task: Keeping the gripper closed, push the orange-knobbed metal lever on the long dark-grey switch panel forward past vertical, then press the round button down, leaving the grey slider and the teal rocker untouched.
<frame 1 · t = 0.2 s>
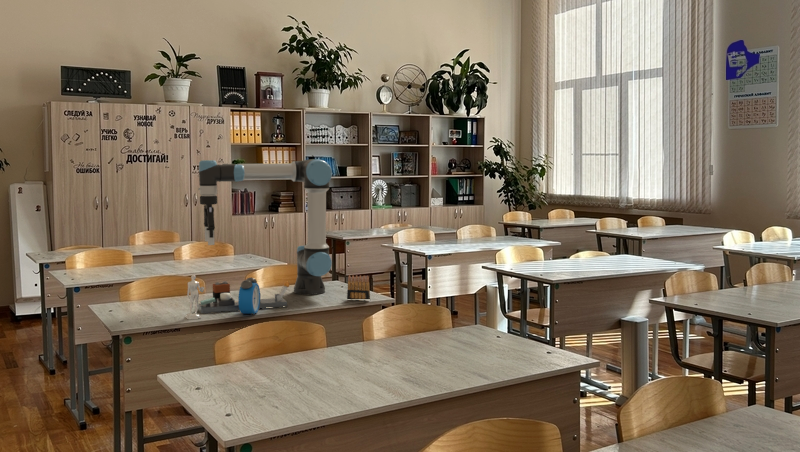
hand: (209, 243, 327), 28 cm above the table, fingers open, 13 cm apart
figurine: (195, 318, 305), on the table
panel: (243, 308, 323), on the table
slider: (258, 296, 327), point 5 cm above the table, slide at -2.0 cm
alarm clock: (249, 314, 312), on the table
lever: (283, 290, 329), point 7 cm above the table, hinge at -30.0°
battery: (221, 304, 332), on the table
button: (225, 297, 320), point 5 cm above the table, slide at 0.0 cm
rocker: (207, 301, 317), point 4 cm above the table, hinge at 12.0°
ammunition clip: (358, 301, 340), on the table
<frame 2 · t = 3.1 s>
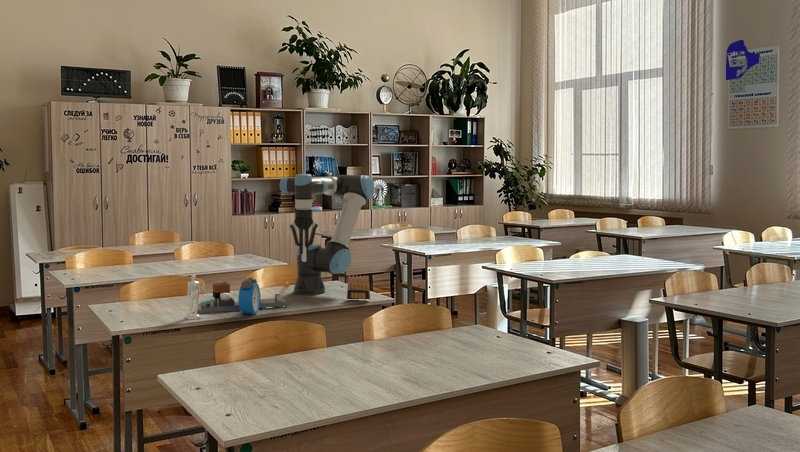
hand: (303, 261, 331), 19 cm above the table, fingers closed
nothing on the table moved.
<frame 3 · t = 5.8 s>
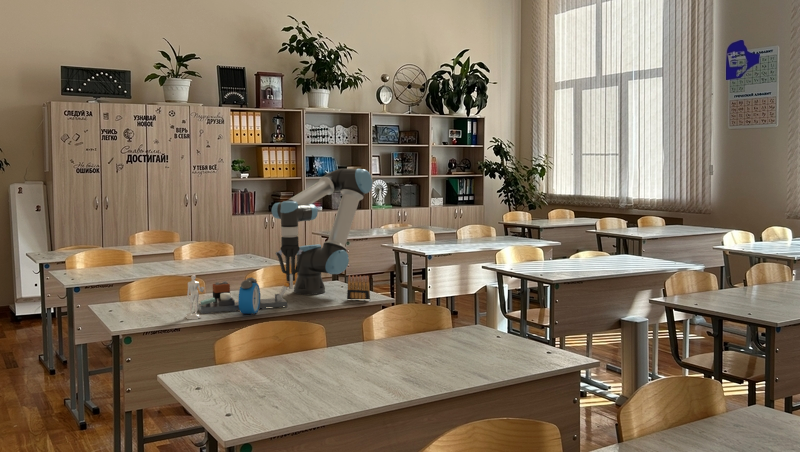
hand: (290, 288, 330), 7 cm above the table, fingers closed
lever: (283, 290, 329), point 7 cm above the table, hinge at -30.0°, touching gripper
everything else where it was.
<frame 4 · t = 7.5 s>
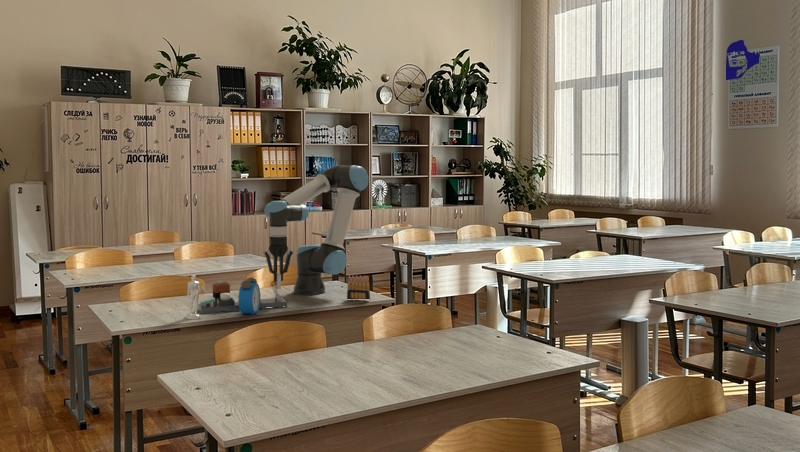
hand: (278, 288, 327), 8 cm above the table, fingers closed
lever: (275, 289, 327), point 7 cm above the table, hinge at 15.7°, touching gripper
everything else where it was.
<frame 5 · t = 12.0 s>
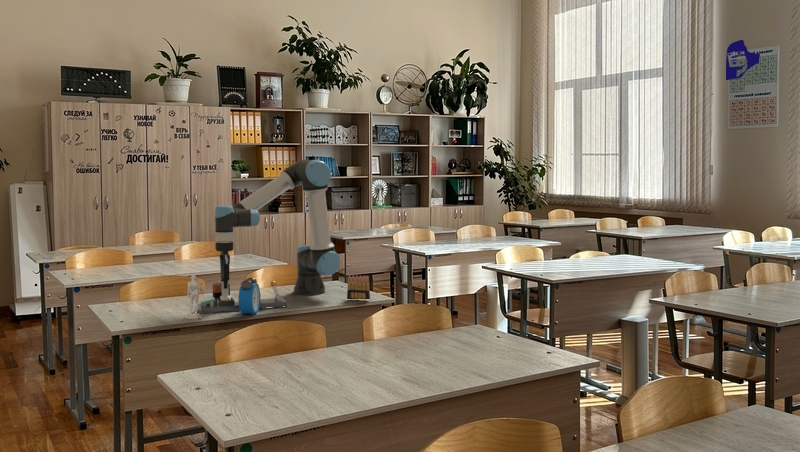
hand: (225, 295, 319), 6 cm above the table, fingers closed
lever: (275, 289, 327), point 7 cm above the table, hinge at 15.6°
button: (225, 299, 320), point 4 cm above the table, slide at -1.1 cm, touching gripper
everything else where it was.
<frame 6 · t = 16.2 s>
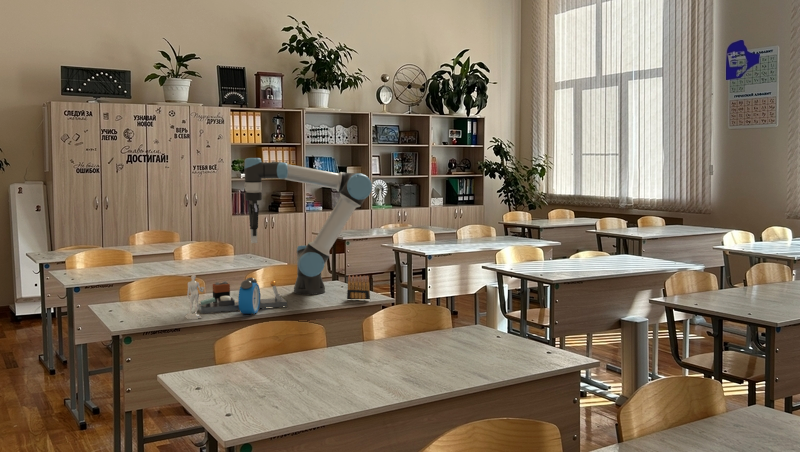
hand: (254, 242, 340), 26 cm above the table, fingers closed
button: (225, 300, 320), point 4 cm above the table, slide at -1.3 cm
everything else where it was.
at the end: lever at +16° (first picture: -30°); button slide at -1.3 cm; slider slide at -2.0 cm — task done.
